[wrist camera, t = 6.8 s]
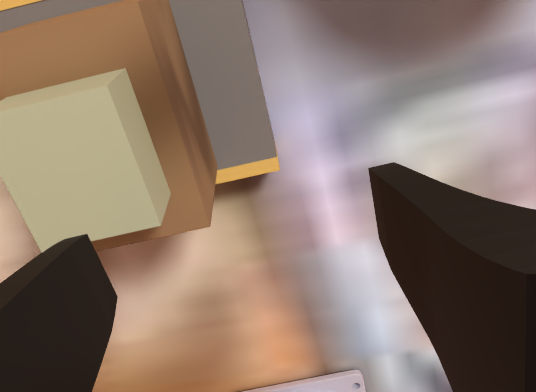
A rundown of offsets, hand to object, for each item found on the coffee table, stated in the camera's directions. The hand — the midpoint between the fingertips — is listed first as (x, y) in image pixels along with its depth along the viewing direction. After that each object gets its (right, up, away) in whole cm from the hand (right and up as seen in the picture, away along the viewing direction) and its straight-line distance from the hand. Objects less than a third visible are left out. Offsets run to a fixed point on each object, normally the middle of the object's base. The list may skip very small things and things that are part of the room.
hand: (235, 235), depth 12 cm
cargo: (-4, +2, +2) cm, 6 cm away
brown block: (-5, +5, +7) cm, 9 cm away
